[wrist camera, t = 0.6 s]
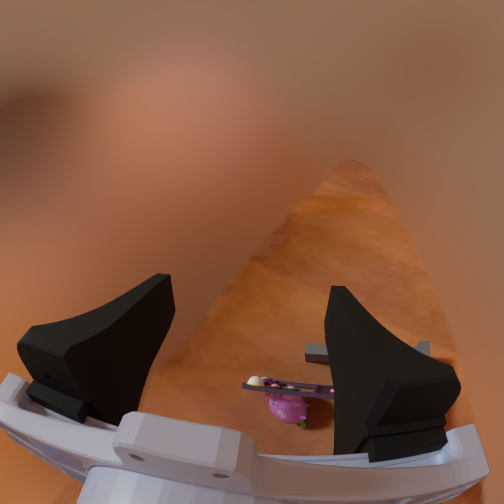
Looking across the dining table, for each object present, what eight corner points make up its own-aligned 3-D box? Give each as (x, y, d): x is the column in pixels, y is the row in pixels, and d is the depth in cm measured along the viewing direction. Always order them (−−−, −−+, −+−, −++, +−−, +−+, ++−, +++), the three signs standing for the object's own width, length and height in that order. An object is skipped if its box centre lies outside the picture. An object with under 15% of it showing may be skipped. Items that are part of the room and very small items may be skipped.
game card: (354, 386, 20) (242, 375, 22) (344, 447, 18) (234, 433, 21) (349, 379, 26) (261, 371, 28) (341, 428, 24) (254, 418, 27)
